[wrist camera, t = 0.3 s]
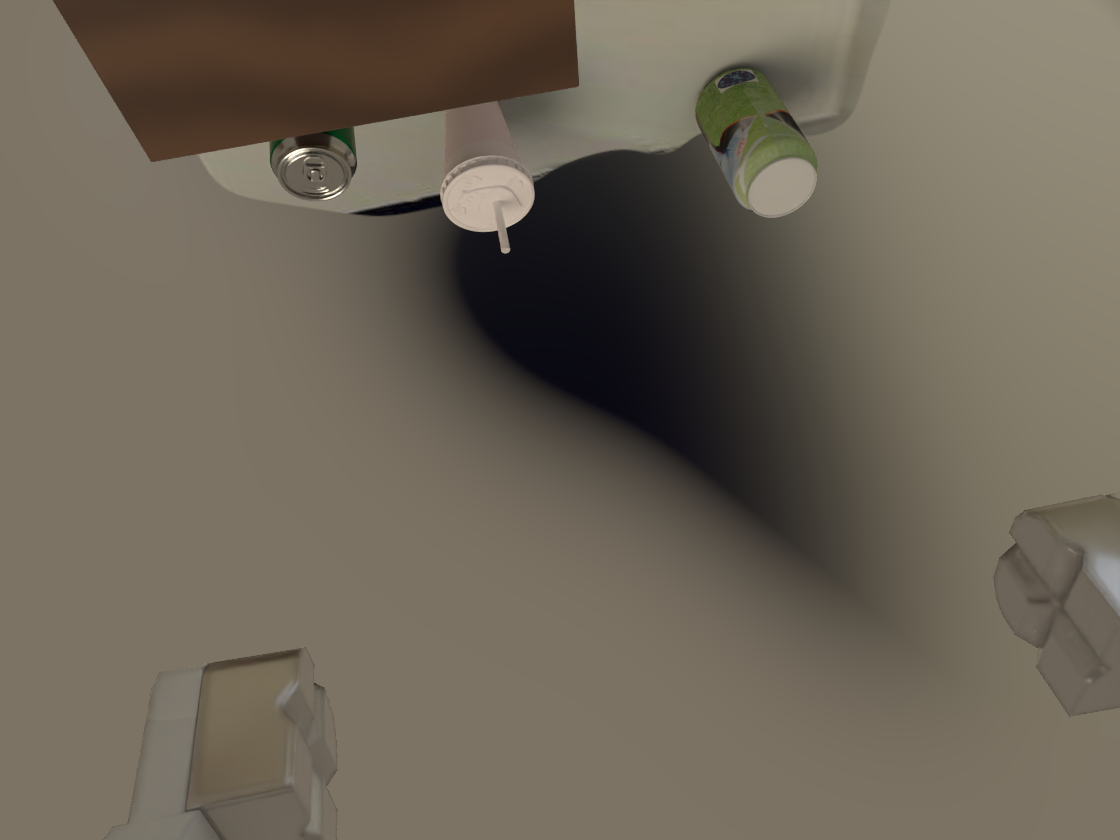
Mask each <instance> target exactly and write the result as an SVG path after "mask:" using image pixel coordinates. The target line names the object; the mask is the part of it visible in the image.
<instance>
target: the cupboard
mask: <svg viewBox="0 0 1120 840" xmlns="http://www.w3.org/2000/svg"><path fill="white" fill-rule="evenodd" d="M53 1H54V3H55V4H56V6H57V8H58V9H59V11H60V13H61V15H62V16H63V18H64V19H65V21H66V23H67V24H68V26H69V27H70V29H71V31H72V32H73V34H74V36H75V37H76V39H77V41H78V42H79V44H80V46H81V47H82V49H83V50H84V52H85V54H86V55H87V57H88V59H89V60H90V62H91V64H92V65H93V67H94V69H95V70H96V72H97V74H98V75H99V77H100V78H101V80H102V82H103V83H104V85H105V87H106V88H107V90H108V92H109V93H110V95H111V97H112V98H113V100H114V102H115V103H116V105H117V106H118V108H119V110H120V111H121V113H122V115H123V116H124V118H125V120H126V121H127V123H128V124H129V126H130V128H131V129H132V131H133V133H134V134H135V136H136V138H137V139H138V141H139V142H140V144H141V146H142V147H143V149H144V151H145V152H146V154H147V156H148V157H149V159H150V161H151V162H155V161H161V160H166V159H172V158H177V157H183V156H189V155H195V154H200V153H206V152H212V151H217V150H223V149H229V148H234V147H240V146H246V145H251V144H257V143H263V142H268V141H274V140H279V139H285V138H291V137H296V136H302V135H308V134H313V133H319V132H325V131H330V130H336V129H342V128H347V127H353V126H359V125H364V124H370V123H375V122H381V121H387V120H392V119H398V118H404V117H409V116H415V115H421V114H426V113H432V112H438V111H443V110H449V109H455V108H460V107H466V106H471V105H477V104H483V103H488V102H494V101H500V100H505V99H511V98H517V97H522V96H528V95H534V94H539V93H545V92H551V91H556V90H562V89H567V88H573V87H578V86H579V75H578V59H577V43H576V27H575V11H574V0H53Z"/></svg>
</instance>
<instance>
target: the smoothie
mask: <svg viewBox="0 0 1120 840" xmlns="http://www.w3.org/2000/svg"><path fill="white" fill-rule="evenodd" d="M440 196H441V201H442V203H443V209H444V211H445V213H446V215H447V216H448V218H449V219H450V220H451V221H452V222H453V223H455V224H456V225H458V226H460V227H462V228H464V229H467V230H472V231H480V232H488V231H496V230H498V234H499V240H500V245H501V250H502V252H503V253H508V252H509V251H510V247H509V243H508V238H507V232H506V227H509V226H511V225H513V224H515V223H516V222H518V221H519V220H521V219H522V218H523V217H524V216H525V215H526V214H527V213H528V211H529V210H530V208H531V207H532V205H533V201H534V188H533V180H532V177H531V174H530V172H529V171H528V170H527V169H526V167H525V166H524V165H522V162H521V160H520V157H519V155H518V152H517V150H516V147H515V145H514V142H513V140H512V137H511V135H510V132H509V130H508V127H507V124H506V122H505V119H504V117H503V114H502V112H501V109H500V107H499V104H498V102H497V101H494V102H488V103H483V104H477V105H471V106H466V107H460V108H455V109H449V110H446V133H445V179H444V180H443V182H442V185H441V189H440Z"/></svg>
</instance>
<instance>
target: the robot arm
mask: <svg viewBox="0 0 1120 840" xmlns="http://www.w3.org/2000/svg"><path fill="white" fill-rule="evenodd" d="M1009 533H1010V534H1011V536H1012V537H1013V539H1014V540H1015V542H1016V544H1014V546H1012V547H1011V548H1010V549H1009V550H1008V551H1006V552H1005V554H1003V555H1002V556H1001V557H1000V558H999V561H998V564H997V567H996V570H995V574H994V586H995V594H996V600H997V602H998V605H999V607H1000V610H1001V612H1002V615H1003V617H1004V618H1005V620H1006V622H1007V623H1008V625H1009V626H1010V628H1011V629H1012V631H1013V632H1014V634H1015V635H1017V636H1018V637H1020V638H1021V639H1023V640H1025V641H1027V642H1028V643H1030V644H1032V645H1033V646H1035V647H1037V648H1038V654H1037V663H1036V668H1037V669H1038V670H1039V672H1040V674H1041V675H1042V676H1043V678H1044V680H1045V681H1046V683H1047V684H1048V686H1049V687H1050V689H1051V690H1052V692H1053V693H1054V695H1055V696H1056V697H1057V699H1058V700H1059V702H1060V703H1061V705H1062V706H1063V708H1064V709H1065V711H1066V712H1067V714H1068V715H1069V716H1075V715H1081V714H1087V713H1093V712H1098V711H1104V710H1109V709H1114V708H1120V492H1119V493H1115V494H1109V495H1105V496H1104V495H1097V496H1092V497H1087V498H1082V499H1078V500H1072V501H1067V502H1063V503H1058V504H1053V505H1048V506H1043V507H1038V508H1033V509H1029V510H1024V511H1023V512H1022V513H1020V514H1019V515H1018V516H1017V517H1015V519H1014V521H1013V524H1012V526H1011V529H1010V532H1009ZM336 771H337V740H336V732H335V724H334V717H333V713H332V708H331V705H330V701H329V698H328V696H327V693H326V691H325V688H324V687H322V686H320V685H318V684H316V683H314V663H313V661H312V659H311V657H310V654H309V652H308V650H307V648H306V647H304V648H298V649H292V650H286V651H280V652H274V653H268V654H263V655H256V656H251V657H244V658H238V659H232V660H227V661H221V662H214V663H207V664H202V665H196V666H191V667H186V668H180V669H175V670H169V671H164V672H160V673H159V675H158V677H157V679H156V681H155V683H154V685H153V687H152V689H151V694H150V700H149V705H148V711H147V717H146V722H145V728H144V733H143V739H142V745H141V750H140V756H139V762H138V768H137V774H136V779H135V785H134V790H133V796H132V801H131V807H130V813H129V818H128V823H127V824H123V825H119V826H114V827H112V829H111V830H110V831H109V832H108V834H107V836H105V838H104V839H103V840H337V808H336V806H335V803H334V801H333V799H332V797H331V795H330V793H329V791H328V788H327V785H328V784H329V782H330V781H331V779H332V778H333V776H334V775H335V773H336Z"/></svg>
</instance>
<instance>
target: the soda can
mask: <svg viewBox="0 0 1120 840" xmlns="http://www.w3.org/2000/svg"><path fill="white" fill-rule="evenodd" d="M270 164H271V168H272V170H273V172H274V174H275V175H276V177H277V178H278V180H279V182H280V184H281V185H282V187H283V188H284V189H285V190H286V191H287V192H288V193H290V194H291V195H293V196H295V197H297V198H300V199H303V200H308V201H324V200H329V199H332V198H335V197H337V196H338V195H340V194H342V193H343V192H344V191H345V190H346V189H347V188H348V186H349V184H350V182H351V178H352V177H353V175H354V173H355V171H356V167H357V158H356V147H355V136H354V126H353V127H347V128H342V129H336V130H330V131H325V132H319V133H313V134H308V135H302V136H296V137H291V138H285V139H279V140H274V141H270Z"/></svg>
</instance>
